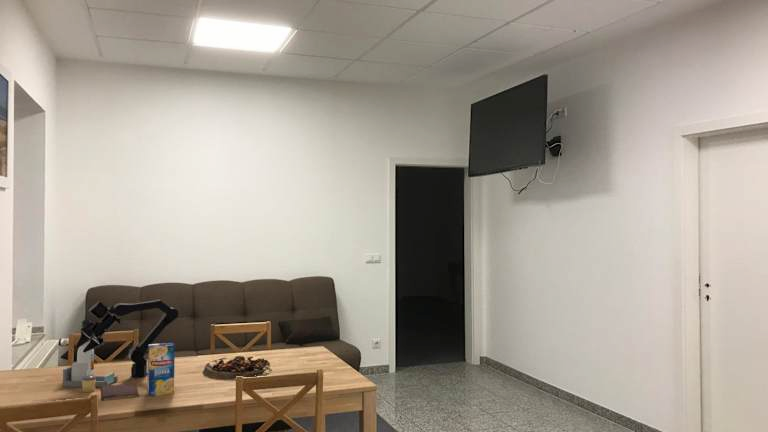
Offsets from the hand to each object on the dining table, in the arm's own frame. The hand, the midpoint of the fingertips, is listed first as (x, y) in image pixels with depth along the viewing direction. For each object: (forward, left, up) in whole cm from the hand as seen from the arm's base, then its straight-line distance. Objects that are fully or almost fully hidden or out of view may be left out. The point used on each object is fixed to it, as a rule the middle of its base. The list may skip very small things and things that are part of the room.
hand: (79, 349), depth 287 cm
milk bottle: (+6, -15, -16) cm, 23 cm away
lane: (-6, +1, -16) cm, 17 cm away
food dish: (-68, -28, -17) cm, 76 cm away
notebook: (-26, +14, -17) cm, 34 cm away
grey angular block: (0, +1, -16) cm, 16 cm away
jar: (-11, +12, -16) cm, 23 cm away
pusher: (-15, +1, -16) cm, 22 cm away
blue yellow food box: (-45, +14, -16) cm, 50 cm away
